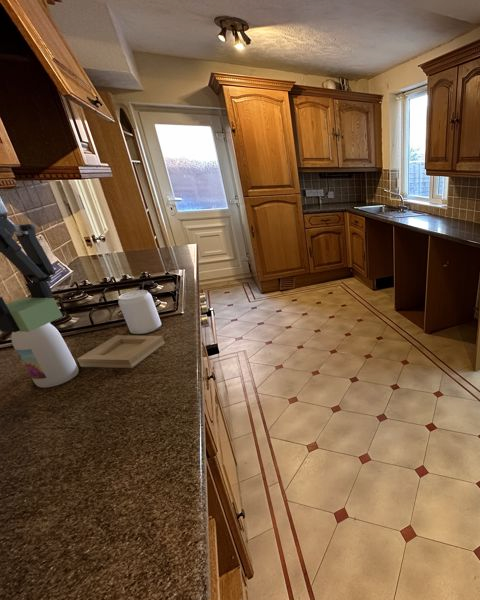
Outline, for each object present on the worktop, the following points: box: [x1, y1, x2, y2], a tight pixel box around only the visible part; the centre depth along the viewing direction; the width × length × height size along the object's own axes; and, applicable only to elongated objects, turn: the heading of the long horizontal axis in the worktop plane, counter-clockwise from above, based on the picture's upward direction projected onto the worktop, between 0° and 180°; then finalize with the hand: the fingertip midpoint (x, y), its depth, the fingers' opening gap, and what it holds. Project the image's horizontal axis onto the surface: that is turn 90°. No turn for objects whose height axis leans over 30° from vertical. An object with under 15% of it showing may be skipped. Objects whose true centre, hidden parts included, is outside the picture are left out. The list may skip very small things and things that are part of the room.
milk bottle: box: [10, 322, 80, 389], centre depth 75 cm, size 8×8×20 cm
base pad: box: [76, 334, 166, 369], centre depth 88 cm, size 14×12×2 cm
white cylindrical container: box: [117, 289, 162, 335], centre depth 99 cm, size 8×8×12 cm
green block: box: [0, 296, 63, 332], centre depth 60 cm, size 6×6×4 cm
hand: (31, 321), depth 60 cm, fingers closed on green block, 6 cm apart
